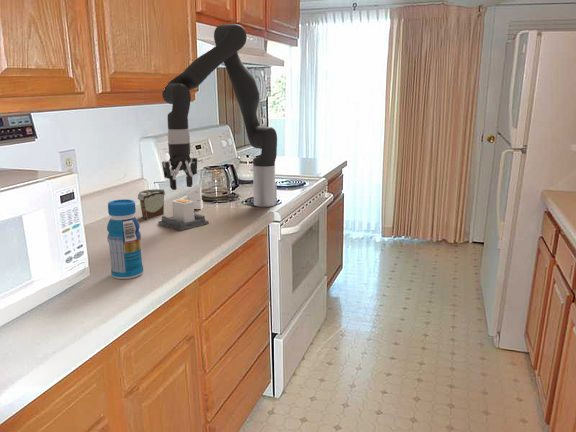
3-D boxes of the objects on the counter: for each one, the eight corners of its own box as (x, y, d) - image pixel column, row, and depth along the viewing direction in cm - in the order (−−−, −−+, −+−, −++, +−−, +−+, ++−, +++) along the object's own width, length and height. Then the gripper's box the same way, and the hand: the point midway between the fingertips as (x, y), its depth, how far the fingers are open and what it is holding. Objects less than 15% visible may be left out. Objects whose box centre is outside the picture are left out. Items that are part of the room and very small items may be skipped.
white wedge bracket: (211, 204, 200) (199, 186, 198) (191, 215, 202) (179, 197, 200) (213, 202, 203) (202, 184, 202) (193, 213, 205) (182, 195, 204)
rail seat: (187, 217, 189) (186, 210, 188) (208, 223, 180) (208, 215, 179) (158, 224, 179) (157, 216, 178) (179, 230, 171) (179, 222, 170)
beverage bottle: (106, 280, 126) (99, 205, 121) (116, 268, 135) (109, 198, 130) (139, 280, 127) (133, 205, 122) (147, 268, 135) (141, 198, 130)
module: (182, 217, 183) (181, 198, 181) (194, 220, 179) (193, 201, 177) (173, 219, 180) (171, 200, 178) (184, 222, 176) (183, 203, 174)
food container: (154, 212, 197) (153, 187, 194) (166, 213, 194) (164, 189, 192) (132, 219, 186) (130, 193, 184) (144, 221, 184) (142, 195, 181)
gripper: (188, 139, 180) (191, 184, 184) (155, 142, 169) (158, 189, 173) (201, 140, 175) (203, 186, 179) (168, 144, 164) (171, 192, 169)
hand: (181, 188), depth 176 cm, fingers open, 6 cm apart
